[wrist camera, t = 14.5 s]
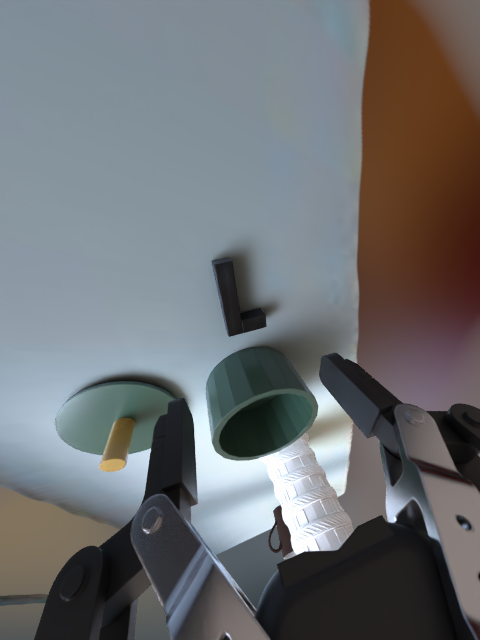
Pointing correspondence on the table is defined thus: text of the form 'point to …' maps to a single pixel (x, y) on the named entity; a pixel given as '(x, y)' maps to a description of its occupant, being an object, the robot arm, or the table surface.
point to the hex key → (234, 301)
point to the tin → (257, 404)
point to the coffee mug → (282, 535)
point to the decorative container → (307, 499)
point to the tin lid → (112, 420)
